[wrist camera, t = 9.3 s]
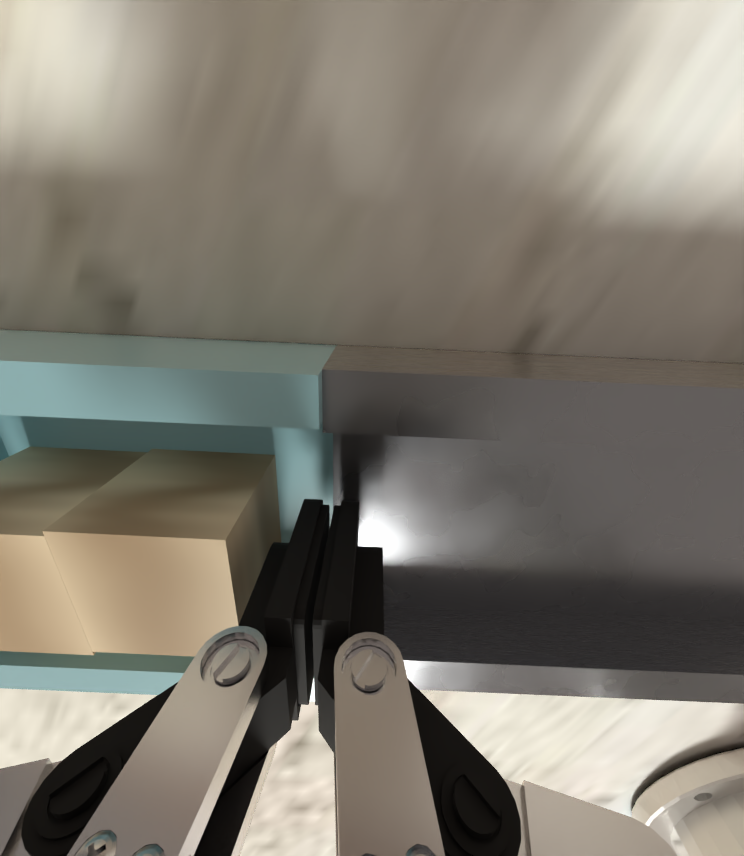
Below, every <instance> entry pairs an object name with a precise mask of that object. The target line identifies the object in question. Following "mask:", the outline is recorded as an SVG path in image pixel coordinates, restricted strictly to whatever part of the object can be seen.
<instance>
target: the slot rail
mask: <svg viewBox="0 0 744 856" xmlns="http://www.w3.org/2000/svg"><path fill="white" fill-rule="evenodd" d="M322 415H323V421H322V423H323V433H333V510H334V505H341V502H342V501H359V502H360V505H359V533H358V546H365V547H383V591H384V636H386V637H387V638H389V639H390V640H391V641H393V642H394V643H395V645H396V646H397V647H398V649H399V650H400V652H401V655H402V658H403V660H404V664H405V669H406V674H407V678H408V679H409V680H410V681H411V682H412V683H413V684H414V686H415V687H416V688H417V689H418V690H441V691H465V692H488V693H511V694H534V695H558V696H581V697H604V698H628V699H651V700H674V701H697V702H721V703H744V364H737V363H715V362H693V361H672V360H650V359H628V358H607V357H585V356H563V355H542V354H520V353H498V352H477V351H455V350H434V349H412V348H390V347H369V346H347V345H337V346H336V347H335V349H334V351H333V352H332V354H331V355H330V357H329V359H328V360H327V362H326V363H325V365H324V367H323V368H322Z"/></svg>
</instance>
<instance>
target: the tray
mask: <svg viewBox="0 0 744 856" xmlns="http://www.w3.org/2000/svg"><path fill="white" fill-rule="evenodd" d="M336 346H337V345H326V344H305V343H283V342H261V341H240V340H218V339H196V338H175V337H153V336H131V335H110V334H88V333H67V332H45V331H23V330H2V329H0V461H1V460H3V459H5V458H7V457H9V456H11V455H14V454H16V453H18V452H20V451H22V450H24V449H26V448H28V447H50V448H71V449H91V450H111V451H131V452H149V451H150V450H151V449H167V450H187V451H208V452H228V453H248V454H268V455H275V460H276V474H277V488H278V502H279V516H280V530H281V543H289V542H290V539H291V536H292V533H293V530H294V527H295V524H296V521H297V518H298V515H299V512H300V509H301V506H302V504H303V501H304V499H319V500H323V505H329V507H330V525H331V520H332V515H333V433H323V423H322V421H323V415H322V368H323V367H324V365H325V363H326V362H327V360H328V359H329V357H330V355H331V354H332V352H333V351H334V349H335V347H336ZM193 659H194V657H193V656H171V655H150V654H128V653H107V652H96V653H95V654H94V655H76V654H55V653H34V652H12V651H0V688H10V689H33V690H56V691H80V692H103V693H126V694H150V695H159V694H160V693H162V692H163V691H165V690H166V689H168V688H169V687H171V686H172V685H174V684H175V683H177V682H178V681H179V680H180V679H181V677H182V676H183V674H184V673H185V671H186V670H187V668H188V666H189V665H190V663H191V662H192V660H193ZM310 701H313V702H315V687H314V677H313V684H312V690H311V696H310Z"/></svg>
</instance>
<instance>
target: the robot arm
mask: <svg viewBox="0 0 744 856" xmlns="http://www.w3.org/2000/svg"><path fill="white" fill-rule="evenodd" d="M359 505H360V502H359V501H342V502H341V505H334V510H333V515H332V520H331V525H330V507H329V505H323V500H319V499H304V501H303V504H302V506H301V509H300V512H299V515H298V518H297V521H296V524H295V527H294V530H293V533H292V536H291V539H290V542H289V543H280V542H274V543H273V544H272V545H271V547H270V549H269V552H268V554H267V556H266V559H265V561H264V564H263V566H262V569H261V571H260V574H259V576H258V579H257V581H256V584H255V586H254V588H253V591H252V593H251V596H250V598H249V601H248V603H247V606H246V608H245V611H244V613H243V616H242V618H241V620H240V623H239V625H238V626H235V627H231V628H227V629H225V630H223V631H221V632H219V633H217V634H215V635H214V636H213V637H211V638H210V639H209V640H208V641H206V642H205V644H204V645H203V646H202V647H201V649H200V650H199V651H198V652H197V654H196V656H195V657H194V659H193V660H192V662H191V663H190V665H189V666H188V668H187V670H186V671H185V673H184V674H183V676H182V677H181V679H180V680H179V681H178V682H177V683H175V684H174V685H172V686H171V687H169V688H168V689H166V690H165V691H163V692H162V693H160V694H159V695H157V696H156V697H154V698H153V699H151V700H150V701H148V702H147V703H145V704H144V705H142V706H141V707H139V708H138V709H136V710H135V711H133V712H132V713H130V714H129V715H127V716H126V717H124V718H123V719H121V720H120V721H118V722H117V723H115V724H114V725H112V726H111V727H109V728H108V729H106V730H105V731H103V732H102V733H100V734H99V735H97V736H96V737H94V738H93V739H92V740H90V741H89V742H87V743H86V744H84V745H83V746H81V747H80V748H78V749H77V750H75V751H74V752H73V753H71V754H70V755H69V756H68V757H66V758H65V759H64V760H63V761H59V762H55V763H51V761H50V759H49V758H47V759H43V760H38V761H34V762H29V763H25V764H20V765H16V766H11V767H7V768H2V769H0V856H240V853H241V850H242V847H243V844H244V841H245V838H246V835H247V832H248V830H249V827H250V824H251V821H252V818H253V815H254V812H255V809H256V806H257V803H258V800H259V797H260V794H261V791H262V789H263V786H264V783H265V780H266V777H267V774H268V771H269V768H270V765H271V762H272V759H273V756H274V753H275V749H276V744H277V741H278V740H280V739H281V738H282V737H283V736H284V735H285V734H286V733H287V732H288V731H289V730H290V729H291V724H292V720H298V718H299V712H300V707H301V704H305V705H308V704H309V701H310V696H311V690H312V684H313V677H314V687H315V705H318V713H319V731H320V733H321V734H322V736H323V737H324V739H325V740H326V742H327V743H328V745H329V746H330V748H331V749H332V751H333V752H334V785H335V827H336V856H744V748H740V749H736V750H732V751H727V752H723V753H719V754H715V755H712V756H709V757H706V758H703V759H700V760H697V761H694V762H692V763H689V764H687V765H685V766H682V767H680V768H678V769H676V770H674V771H672V772H670V773H668V774H667V775H665V776H663V777H662V778H660V779H658V780H657V781H656V782H654V783H653V784H652V785H650V786H649V787H648V788H647V789H645V791H644V792H643V793H642V794H641V795H640V796H639V798H638V799H637V800H636V803H635V805H634V807H633V809H632V817H629V816H626V815H623V814H620V813H617V812H614V811H611V810H608V809H606V808H603V807H600V806H597V805H594V804H591V803H588V802H585V801H582V800H579V799H577V798H574V797H571V796H568V795H565V794H562V793H559V792H556V791H553V790H550V789H548V788H545V787H542V786H539V785H536V784H533V783H530V782H527V781H523V783H522V785H520V784H517V783H514V782H512V781H509V780H506V779H503V778H502V777H501V775H500V774H499V773H498V771H497V770H496V769H495V768H494V767H493V766H492V765H491V764H490V763H489V762H488V761H487V760H486V759H485V758H484V757H483V756H482V755H481V754H480V753H479V751H478V750H477V749H476V748H475V747H474V746H473V745H472V744H471V743H470V742H469V741H468V740H467V739H466V738H465V737H464V736H463V735H462V734H461V733H460V732H459V731H458V730H457V729H456V728H455V727H454V726H453V725H452V724H451V723H450V722H449V721H448V720H447V719H446V717H445V716H444V715H443V714H442V713H441V712H440V711H439V710H438V709H437V708H436V707H435V706H434V705H433V704H432V703H431V702H430V701H429V700H428V699H427V698H426V697H425V696H424V695H423V694H422V693H421V692H420V691H419V690H418V689H417V688H416V687H415V686H414V684H413V683H412V682H411V681H410V680H409V679H408V678H407V674H406V669H405V664H404V660H403V658H402V655H401V652H400V650H399V649H398V647H397V646H396V645H395V643H394V642H393V641H391V640H390V639H389V638H387V637H386V636H384V591H383V547H365V546H358V533H359Z"/></svg>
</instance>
